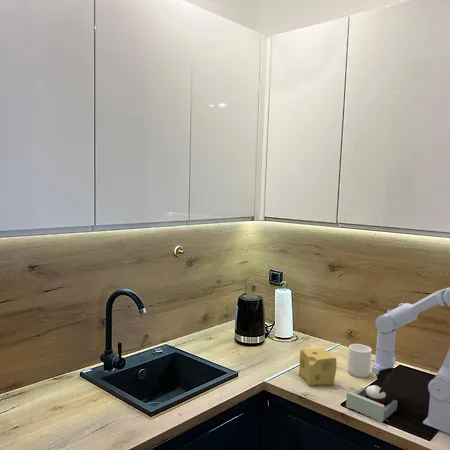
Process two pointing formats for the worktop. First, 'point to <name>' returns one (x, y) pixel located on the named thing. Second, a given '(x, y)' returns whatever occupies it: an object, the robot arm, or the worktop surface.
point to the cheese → (317, 366)
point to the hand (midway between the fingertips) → (382, 388)
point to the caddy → (369, 406)
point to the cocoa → (377, 392)
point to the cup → (359, 360)
